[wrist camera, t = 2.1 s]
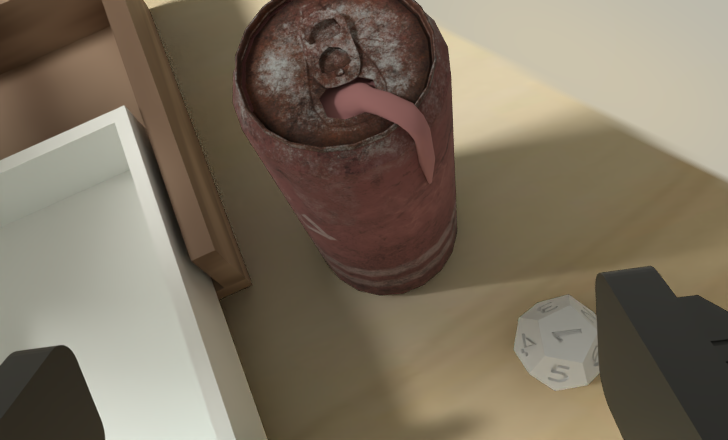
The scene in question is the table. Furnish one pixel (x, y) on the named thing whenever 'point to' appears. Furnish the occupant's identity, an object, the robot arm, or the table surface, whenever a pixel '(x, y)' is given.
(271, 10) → the can
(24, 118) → the tray stand
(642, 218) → the table surface
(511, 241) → the table surface
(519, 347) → the game die
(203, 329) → the tray
